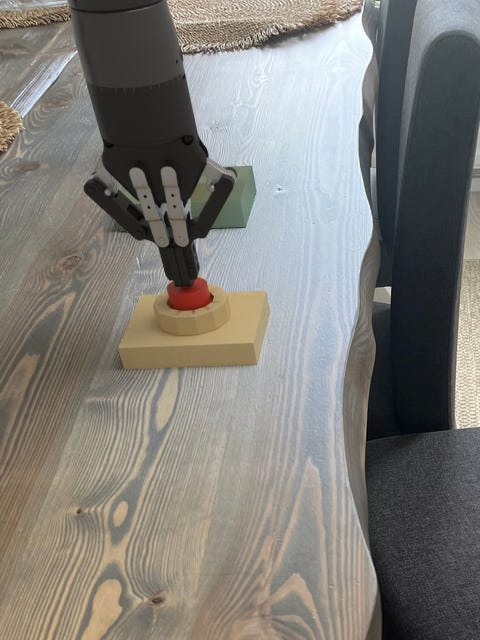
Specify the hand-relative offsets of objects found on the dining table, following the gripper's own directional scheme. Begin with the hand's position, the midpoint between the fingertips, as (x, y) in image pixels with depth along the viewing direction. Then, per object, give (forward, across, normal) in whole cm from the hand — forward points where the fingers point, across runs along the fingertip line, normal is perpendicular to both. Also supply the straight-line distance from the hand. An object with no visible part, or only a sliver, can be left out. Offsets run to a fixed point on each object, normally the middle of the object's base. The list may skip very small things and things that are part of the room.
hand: (185, 282), depth 90 cm
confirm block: (+6, 0, 0) cm, 6 cm away
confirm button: (+2, 0, 0) cm, 2 cm away
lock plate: (+6, -6, +30) cm, 31 cm away
